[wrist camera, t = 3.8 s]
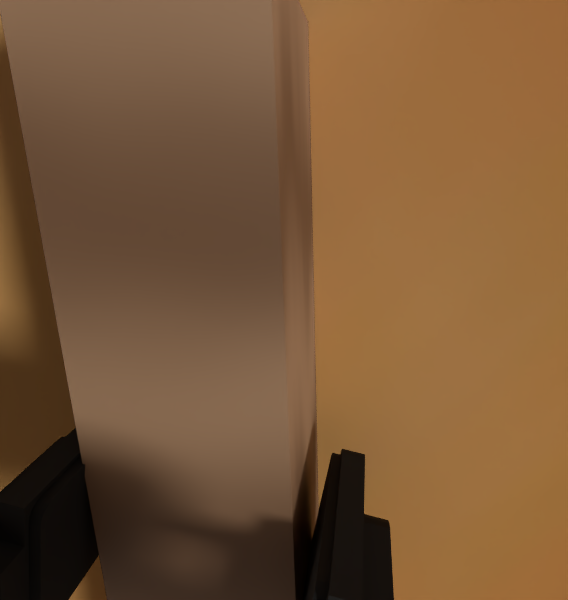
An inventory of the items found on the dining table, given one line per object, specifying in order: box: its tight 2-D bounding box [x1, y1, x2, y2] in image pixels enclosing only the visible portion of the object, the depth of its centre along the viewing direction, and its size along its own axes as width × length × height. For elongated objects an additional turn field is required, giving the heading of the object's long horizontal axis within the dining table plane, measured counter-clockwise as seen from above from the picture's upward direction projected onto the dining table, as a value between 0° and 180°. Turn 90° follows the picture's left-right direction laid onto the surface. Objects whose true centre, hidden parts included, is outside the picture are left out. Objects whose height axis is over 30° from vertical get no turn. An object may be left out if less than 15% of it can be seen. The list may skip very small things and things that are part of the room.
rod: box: [0, 0, 319, 600], centre depth 11 cm, size 20×4×4 cm, turn 2°
